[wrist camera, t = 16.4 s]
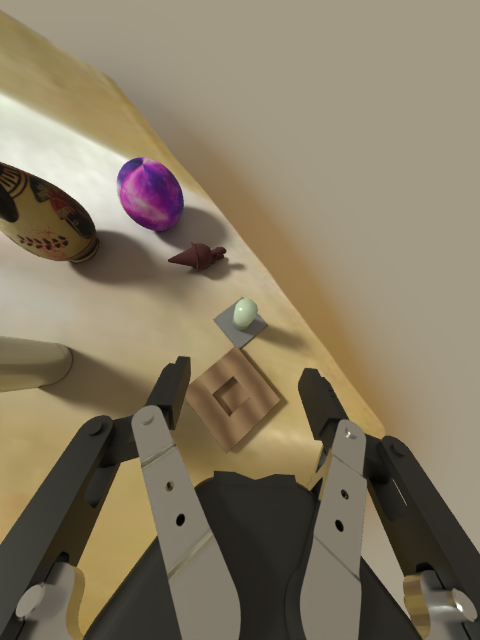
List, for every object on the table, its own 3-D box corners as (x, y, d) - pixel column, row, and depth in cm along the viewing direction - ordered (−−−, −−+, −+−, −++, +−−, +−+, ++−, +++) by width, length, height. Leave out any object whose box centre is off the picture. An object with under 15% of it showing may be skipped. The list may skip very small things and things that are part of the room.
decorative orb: (198, 224, 53) (189, 172, 39) (155, 252, 50) (127, 205, 36) (168, 192, 55) (148, 130, 41) (125, 216, 52) (86, 158, 38)
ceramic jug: (55, 221, 50) (-178, 21, 21) (114, 225, 51) (-31, 41, 22) (38, 276, 46) (-285, 123, 17) (102, 279, 47) (-96, 141, 18)
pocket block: (226, 448, 40) (226, 453, 38) (182, 390, 42) (180, 392, 40) (277, 398, 43) (280, 399, 41) (235, 346, 45) (236, 345, 43)
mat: (238, 349, 45) (238, 349, 45) (213, 319, 47) (213, 319, 46) (266, 325, 48) (267, 325, 47) (242, 297, 49) (242, 297, 48)
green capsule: (239, 334, 46) (245, 324, 34) (228, 321, 46) (230, 307, 35) (252, 323, 47) (262, 310, 35) (241, 311, 47) (247, 294, 36)
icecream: (168, 271, 42) (230, 262, 46) (161, 240, 42) (224, 233, 45) (172, 278, 49) (226, 270, 52) (166, 251, 49) (220, 245, 52)
